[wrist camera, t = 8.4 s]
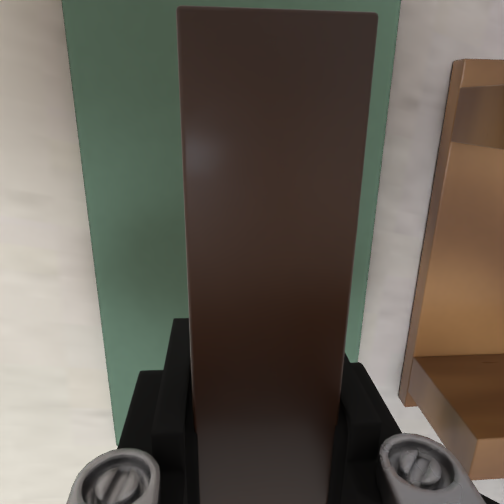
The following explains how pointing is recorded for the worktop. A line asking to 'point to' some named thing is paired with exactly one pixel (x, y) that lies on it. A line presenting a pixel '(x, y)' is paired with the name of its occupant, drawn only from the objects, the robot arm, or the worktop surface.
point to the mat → (171, 170)
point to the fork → (270, 237)
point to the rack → (464, 279)
